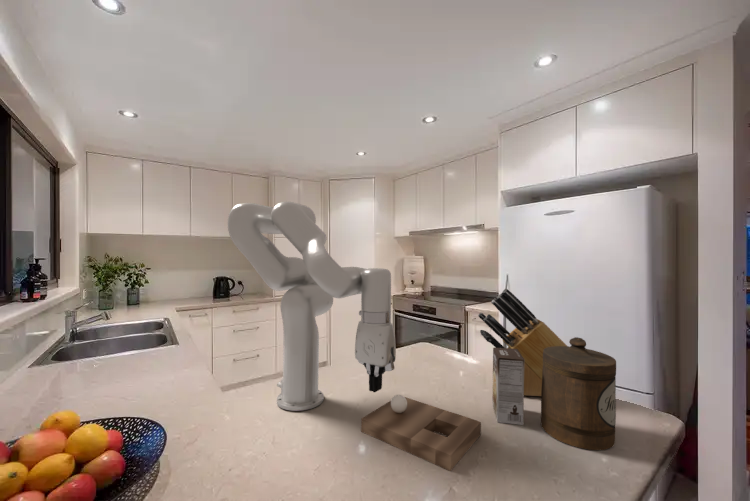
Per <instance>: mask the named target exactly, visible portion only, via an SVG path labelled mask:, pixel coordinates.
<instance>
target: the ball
mask: <svg viewBox="0 0 750 501" xmlns="http://www.w3.org/2000/svg"><path fill="white" fill-rule="evenodd" d="M405 397H406V396H404V395H402V394H396V395H394V396H392V398H391V399H390V401H391V408H392V409H393V411H395V412H396V413H402V412H404V411H405V410H406V408H407V400H406V398H405Z"/></svg>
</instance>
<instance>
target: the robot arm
mask: <svg viewBox="0 0 750 501" xmlns="http://www.w3.org/2000/svg"><path fill="white" fill-rule="evenodd" d="M227 232H228V236H229V237H230V240H231V241H232V243H233V245H234V246H235V247H236V248H237V249H238V251H239V252H240V253H241V254H242V255H243V256H244V257H245V259H246V260H247V261H248V262H249V263H250V265H251V266H252V267H253V268H254V270H255V272H256V273H257V274H258V275H259V277H260V278H261V279H262V280H263V282H264V283H265V284H266V285H267V287H269V289H271V290H273V291H275V292H281V291H285V292H284V293H283V295H282V298H281V299H280V314H281V319H282V328H283V329H282V330H283V350H282V352H283V354H282V355H283V356H282V358H283V359H282V360H283V362H282V377H281V379H280V381H278V382H277V383H276V387H278V388H280V393H279V394H278V395H277V396H276V405H277V407H279V408H280V409H282V410H287V411H293V412H294V411H295V412H298V411H307V410H311V409H314V408H316V407H318V406H320V405H321V404H322V403H323V401H324V398H325V397H324V392H322V390H320V389H319V360H320V359H319V357H320V356H319V355H320V353H319V352H320V351H319V350H320V349H319V348H320V334H319V328H318V325H317V321H316V317H318V316H321V315H324V314H326V313H328V312H329V311H330V310H331V308H332V307H333V306H334V305H333V304H334V299H344V298H348V297H351V296H356V295H361V301H360V302H361V304H360V305H361V306H360V309H361V310H359V311H358V315H359V316H360V318H361V320H359V321H358V325H357V328H356V332H355V334H356V335H355V344H354V358H355V360H357V362H358V364H361V365H362V366H364V368H365V369H366V374H367V375H368V390H369V392H372V393H376V392H379V391H380V390H382V388H383V374H385V372H391V371H394V370H395V362H396V358H397V357H396V356H397V354H396V353H397V349H396V348H397V347H396V346H397V345H396V334H395V329H394V323H392V273H391V271H390V270H389V269H388V268H379V267H377V268H375V267H373V268H371V267H370V268H363V267H357V266H345V267H343V266H342V267H341V265H339V263H337V261H336V260H335V259H334V258H332V256H331V255H330V253H329V252H328V251H327V248H326V246H325V244H326V242H327V234H326V232H324V231H323V230H322V229H321V228H320V227H319V226H318V225H317V217H316V214H315V212H314V211H313V210H312V209H311V208H310V207H309V206H307V205H304V204H301V203H297V202H294V201H287V200H286V201H280V202H278V203H277V204H276V205H275V206H273V207H272V206H268V205H263V204H259V203H253V202H243V203H238V204H236V205H234V206H233V207H232V208H231V210H230V212H229V214H228V217H227ZM263 234H265V235H283V236H284V237H285V238H286V239H287V240H288V241H289V242H290V243H291V244H292V246H293V247H294V248H295V249H296V250H297V251H298V252H299V253H300V255H301V256H302V258H301V257H296V256H295V257H294V256H293V257H291V256H289V257H288V256H286V255H284V254H283V253H282V252H281V251H280V250H279V249H278V248H277V246H276V245H275V244H274V242H273V241H271V240H270V239H268V237H266V236H265V235H263Z"/></svg>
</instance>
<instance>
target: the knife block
mask: <svg viewBox="0 0 750 501" xmlns="http://www.w3.org/2000/svg"><path fill="white" fill-rule="evenodd" d="M490 303H491V304H492V305H493V306H494V307H495V308H496V309H497V310H498V312H499V313H501V315H503V316H504V318H505V319H506V320H508V321H509V322H510V323H511V324H512V325H513V326H514V327H515V328H514V329H513V330H512V331H508V330H507V329H506V328H505V327H504V326H503V325H502V324H501V323H500V322H499V321H498V320H497V319H496V318H495V317H494V316H492V315H491V314H487V315H485V314H484V313H483V312H480V313H479V314H477V317H478V318H480V319H481V320H482V321H483V322H484V323H485V324H486V326H487V327H488V328H490V329H491V330H492V331H493V332H494V333H495V334H496V335H497V336H498V337H500V339H502V342H503V343H504V344H505V345H506V346H507V348H509V349H518V351H519V352H520V354H521V355H522V357H523V358H524V360H525V362H524V396H532V397H541V390H542V371H543V350H544V349H545V348H547V347H551V346H568V345H567V344H566V343H565V342H564V341H563V340H562V339H561V338H560V337H559V336H558V335H557V334H556V333H555V332H554V331H553V330H552V329H551V328H550V327H549V326H548V325H547V324H546V323H545V322H544V321H542V320H540V319H538V318H537V317H536V316H535V314H534V313H533V312H532V311H531V310H530V309H529V308H528V307H527V306H526V305H525V304H524V303H523V302H522V301H521V300H520V299H519V298H518V297H516V296H515V295H514V294H513V293H512V292H511V291H510V290H509V289H508V288H505V289H503V290H502V292H500V294H498V296H497V297H496V298H494V299H492V300H491V302H490ZM479 331H480V335H481V336H482V337H483V339H484V340H485V341H486V342H488V343H490V344H491V345H492V346H494V347H493V348H506V347H505V346H504V345H502V344H501V342H499V341H498V340H497V339H496V338H495V337H494V336H493V335H492V334H490V332H488V331H486V330H483V329H480V330H479Z"/></svg>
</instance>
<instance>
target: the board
mask: <svg viewBox="0 0 750 501" xmlns="http://www.w3.org/2000/svg"><path fill="white" fill-rule="evenodd" d="M404 397H405V398H406V400H407V408H406V410H405V411H404V412H402V413H396V412H395V411H393V409H392V408H391V400H389V401H387V402H386V403H385V404H382V405H381V406H379V407H378V408H376V409H374V410H372V412H370V413H368V414H367V415H365V416H363V417H361V420H360V421H361V423H360V424H361V425H360V426H361V427H360V430H361V433H364V434H366V435H368V436H370V437H371V438H372V437H373V438H375V439H377V440H380V441H382V442H384V443H386V444H388V445H391V446H392V447H395V448H396V449H397V448H398V449H399V450H402V451H404V452H406V453H409V454H410V455H413V456H415V457H418V458H419V459H422V460H424V461H427V462H428V463H431V464H434V465H436V466H437V467H440V468H443V469H444V470H447V471H449V472H452V471H453V469H454V468H455V466H456V465H457V464H458V463H460V461H461V460H462V459H463V457H464V456H465V454H466V453H468V451H469V450H470V449H471V447H472V446H473V445H474V443H475V442H476V441H477V440H478V439H479V438H480V437H481V435H482V432H481V431H482V428H481V427H482V426H481V425H482V423H481V421H480V420H476V419H473V418H470V417H467V416H464V415H461V414H457V413H455V412H452V411H449V410H447V409H443V408H440V407H438V406H434V405H431V404H428V403H425V402H421V401H420V400H415V399H412V398H410V397H406V396H404Z"/></svg>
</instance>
